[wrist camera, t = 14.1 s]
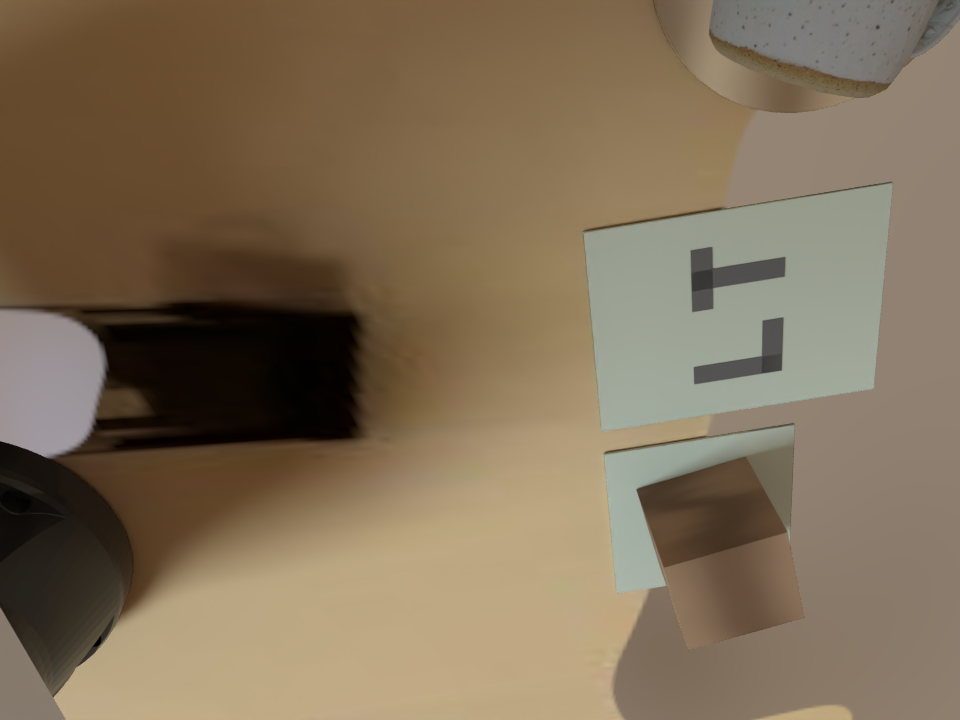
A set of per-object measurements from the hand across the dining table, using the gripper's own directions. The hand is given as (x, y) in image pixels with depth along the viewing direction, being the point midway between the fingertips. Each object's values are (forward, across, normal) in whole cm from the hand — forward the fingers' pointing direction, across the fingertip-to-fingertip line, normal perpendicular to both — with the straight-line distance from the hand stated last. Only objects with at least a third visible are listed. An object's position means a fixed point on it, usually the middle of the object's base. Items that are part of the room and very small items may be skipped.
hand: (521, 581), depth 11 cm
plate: (+29, +10, -25) cm, 39 cm away
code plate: (+29, +12, -13) cm, 34 cm away
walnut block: (+28, +10, -25) cm, 39 cm away
